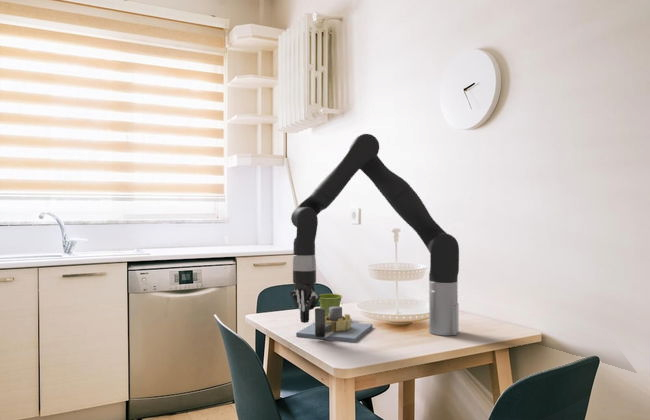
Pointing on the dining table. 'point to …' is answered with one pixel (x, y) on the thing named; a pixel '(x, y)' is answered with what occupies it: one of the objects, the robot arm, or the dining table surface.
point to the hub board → (348, 335)
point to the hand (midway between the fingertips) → (304, 322)
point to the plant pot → (329, 301)
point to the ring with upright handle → (329, 323)
